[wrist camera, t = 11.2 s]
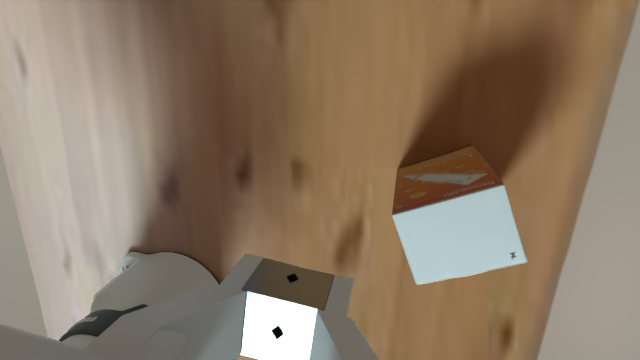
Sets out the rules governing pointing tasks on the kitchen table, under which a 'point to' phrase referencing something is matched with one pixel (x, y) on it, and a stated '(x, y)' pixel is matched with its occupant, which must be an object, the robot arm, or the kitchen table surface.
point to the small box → (455, 218)
